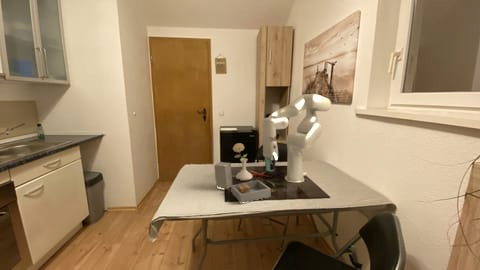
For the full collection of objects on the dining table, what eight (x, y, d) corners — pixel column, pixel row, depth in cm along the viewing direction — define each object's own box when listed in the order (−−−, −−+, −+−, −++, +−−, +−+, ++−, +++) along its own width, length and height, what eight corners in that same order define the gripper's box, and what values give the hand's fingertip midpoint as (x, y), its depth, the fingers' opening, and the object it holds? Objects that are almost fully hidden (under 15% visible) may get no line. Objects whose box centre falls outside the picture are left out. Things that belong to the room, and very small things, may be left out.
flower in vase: (252, 176, 149) (252, 141, 145) (252, 182, 138) (251, 144, 134) (234, 175, 151) (233, 141, 147) (232, 181, 139) (231, 144, 135)
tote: (258, 187, 129) (258, 180, 128) (270, 197, 116) (270, 188, 115) (230, 193, 122) (230, 185, 121) (240, 204, 109) (240, 195, 108)
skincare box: (233, 187, 130) (232, 162, 128) (226, 192, 124) (225, 166, 122) (221, 185, 135) (220, 161, 132) (215, 189, 129) (213, 164, 126)
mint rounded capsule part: (271, 167, 130) (271, 156, 129) (276, 170, 126) (275, 158, 125) (264, 169, 128) (264, 158, 127) (268, 171, 124) (268, 160, 123)
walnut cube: (246, 192, 121) (245, 184, 120) (250, 196, 116) (249, 187, 115) (238, 194, 119) (237, 185, 118) (241, 197, 114) (241, 189, 113)
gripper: (283, 140, 118) (283, 171, 121) (267, 135, 133) (268, 163, 136) (272, 142, 115) (272, 174, 118) (256, 137, 130) (257, 165, 133)
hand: (270, 168), depth 127 cm, fingers closed on mint rounded capsule part, 4 cm apart
